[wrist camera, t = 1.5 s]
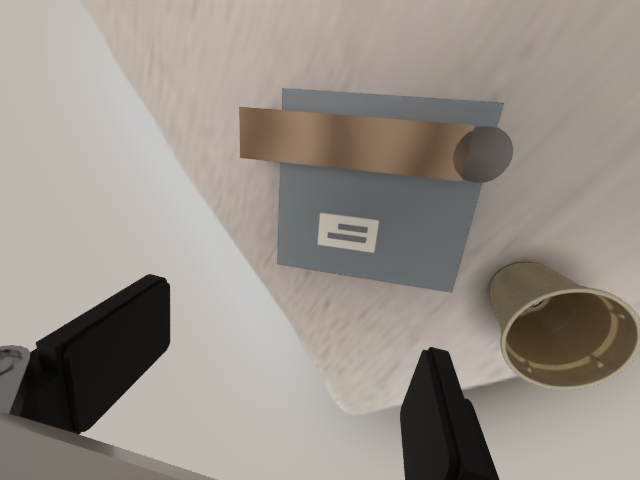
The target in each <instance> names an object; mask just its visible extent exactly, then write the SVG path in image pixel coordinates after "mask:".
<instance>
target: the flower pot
mask: <svg viewBox="0 0 640 480" xmlns="http://www.w3.org/2000/svg"><path fill="white" fill-rule="evenodd" d="M489 296H490V300H491V302H492V305H493V307H494V310H495V313H496V316H497V319H498V321H499V324H500V327H501V340H500V342H501V350H502V354H503V357H504V359H505V361H506V363H507V364H508V366H509V367H510V368H511V369H512V370H513V371H514V373H515V374H517V375H518V376H520V377H521V378H523V379H524V380H526V381H528V382H530V383H532V384H535V385H538V386H540V387H545V388H550V389H558V390H576V389H583V388H588V387H592V386H595V385H599V384H601V383H604V382H606V381H607V380H610V379H612V378H613V377H615V376H616V375H618V374H619V373H621V372H622V371H623V370H624V369H626V368H627V367H628V366H629V365H630V364H631V363H632V361H633V360H634V358H635V357H636V356H637V354H638V352H639V350H640V319H639V317H638V315H637V314H636V312H635V311H634V310H633V309H632V307H631V306H630V305H628V304H627V303H626V302H624V301H623V300H622V299H620V298H618V297H616V296H615V295H612V294H610V293H608V292H605V291H602V290H598V289H593V288H587V287H583V286H580V285H578V284H576V283H574V282H572V281H570V280H568V279H566V278H564V277H563V276H561V275H559V274H557V273H555V272H553V271H551V270H550V269H548V268H546V267H545V266H543V265H540V264H537V263H515V264H512V265H509V266H507V267H505V268H503V269H502V270H501V271H499V272H498V273H497V274H496V275H495V277H494V278H493V279H492V281H491V284H490V291H489ZM541 300H543V301H542V302H541V303H540V304H539V305H537V306H535V307H533V305H534V304H535V303H537V302H539V301H541Z"/></svg>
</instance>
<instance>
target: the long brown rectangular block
mask: <svg viewBox="0 0 640 480" xmlns="http://www.w3.org/2000/svg"><path fill="white" fill-rule="evenodd" d="M239 115H240V158H247V159H256V160H266V161H275V162H285V163H294V164H303V165H313V166H322V167H332V168H341V169H351V170H360V171H370V172H379V173H388V174H398V175H407V176H417V177H426V178H436V179H445V180H455V181H461V180H462V178H463V179H465V180H467V181H470V182H474V183H483V182H487V181H490V180H493V179H495V178H496V177H498V176H499V175H501V174H502V173H503V172H504V171H505V170H506V168H507V167H508V165H509V163H510V161H511V159H512V155H513V146H512V142H511V140H510V138H509V136H508V135H507V134H506V133H505V132H504V131H502V130H501V129H499V128H496V127H491V126H478V127H475V125H466V124H453V123H440V122H427V121H414V120H402V119H389V118H376V117H363V116H350V115H337V114H324V113H311V112H298V111H286V110H273V109H260V108H247V107H239Z"/></svg>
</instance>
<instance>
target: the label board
mask: <svg viewBox="0 0 640 480" xmlns="http://www.w3.org/2000/svg"><path fill="white" fill-rule="evenodd" d="M503 104H504V103H498V102H483V101H468V100H453V99H437V98H422V97H407V96H392V95H376V94H361V93H346V92H331V91H316V90H300V89H285V88H282V110H286V111H298V112H311V113H324V114H337V115H350V116H363V117H376V118H389V119H402V120H414V121H427V122H440V123H453V124H466V125H475V127H478V126H491V127H496V128H497V126H498V122H499V119H500V115H501V111H502V108H503ZM481 185H482V183H474V182H470V181H467V180H465V179H463V178H462V180H461V181H455V180H445V179H436V178H426V177H417V176H407V175H398V174H388V173H379V172H370V171H360V170H351V169H341V168H332V167H322V166H313V165H303V164H294V163H285V162H280V188H279V223H278V258H277V264H279V265H285V266H291V267H297V268H303V269H309V270H316V271H322V272H328V273H334V274H340V275H346V276H353V277H359V278H365V279H371V280H377V281H384V282H390V283H396V284H402V285H408V286H414V287H421V288H427V289H433V290H439V291H445V292H452V291H453V288H454V284H455V280H456V277H457V273H458V269H459V266H460V262H461V258H462V255H463V251H464V247H465V244H466V240H467V236H468V233H469V229H470V225H471V222H472V218H473V214H474V211H475V207H476V203H477V200H478V196H479V192H480V189H481Z"/></svg>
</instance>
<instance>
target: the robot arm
mask: <svg viewBox="0 0 640 480" xmlns="http://www.w3.org/2000/svg"><path fill="white" fill-rule="evenodd" d="M169 344H170V285H169V283H167V280H166V279H165V278H163V277H159V276H155V275H151V274H149V275H146V276H145V277H143V278H141V279H140V280H138V281H136V282H135V283H133V284H131V285H130V286H128V287H127V288H125V289H123V290H121V291H120V292H118V293H116V294H115V295H113V296H112V297H110V298H108V299H107V300H105V301H103V302H102V303H100V304H98V305H97V306H96V307H94V308H92V309H90V310H89V311H87V312H85V313H84V314H82V315H80V316H79V317H77V318H75V319H74V320H72V321H70V322H69V323H67V324H65V325H64V326H62V327H61V328H59V329H57V330H56V331H54V332H52V333H51V334H49V335H47V336H46V337H44V338H43V339H41V340H39V341H38V342H36V346H37V349H35V350H33V351H32V352H29V350H28V349H27V348H24V347H22V346H15V345H14V346H13V345H10V346H1V347H0V480H216V479H213V478H210V477H207V476H204V475H201V474H198V473H195V472H192V471H189V470H186V469H183V468H180V467H177V466H174V465H171V464H167V463H164V462H162V461H159V460H155V459H152V458H149V457H146V456H143V455H140V454H137V453H134V452H131V451H128V450H125V449H121V448H118V447H115V446H112V445H109V444H106V443H103V442H100V441H96V440H94V439H91V438H87V437H84V436H81V435H79V434H80V433H81V432H85V431H87V430H88V429H90V428H91V427H92V426H93V425H94V424H95V423H96V422H97V421H98V420H99V419H100V417H102V416H103V415H104V414H105V413H106V412H107V411H108V410H109V408H110V407H111V406H112V405H113V404H114V403H115V402H116V401H117V400H118V399H119V398H120V397H121V396H122V395H123V394H124V393H125V392H126V391H127V390H128V389H129V388H130V387H131V386H132V385H133V384H134V383H135V382H136V381H137V380H138V379H139V378H140V377H141V376H142V375H143V374H144V373H145V372H146V371H147V370H148V369H149V368H150V366H152V365H153V364H154V362H155V361H156V360H157V359H158V358H159V357H160V356H161V355H162V354H163V353H164V352H165V351H166V350H167V348H168V346H169ZM400 422H401V433H402V447H403V459H404V471H405V480H499V477H498V475H497V472H496V469H495V466H494V463H493V461H492V458H491V455H490V452H489V449H488V447H487V444H486V441H485V438H484V435H483V432H482V430H481V427H480V424H479V421H478V419H477V416H476V413H475V410H474V407H473V405H472V403H471V401H469V400H468V399H465V398H464V396H463V393H462V390H461V387H460V384H459V381H458V378H457V375H456V372H455V369H454V366H453V363H452V360H451V357H450V354H449V352H448V351H445V350H441V349H437V348H433V347H430V348H429V349H428V351H427V350H423V351H422V353H421V356H420V358H419V361H418V364H417V366H416V369H415V372H414V374H413V377H412V380H411V382H410V385H409V388H408V390H407V393H406V396H405V399H404V401H403V404H402V407H401V412H400Z"/></svg>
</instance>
